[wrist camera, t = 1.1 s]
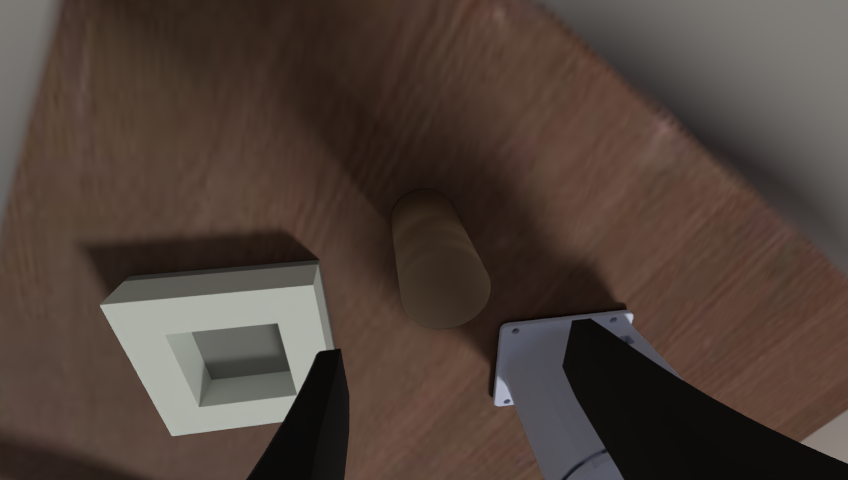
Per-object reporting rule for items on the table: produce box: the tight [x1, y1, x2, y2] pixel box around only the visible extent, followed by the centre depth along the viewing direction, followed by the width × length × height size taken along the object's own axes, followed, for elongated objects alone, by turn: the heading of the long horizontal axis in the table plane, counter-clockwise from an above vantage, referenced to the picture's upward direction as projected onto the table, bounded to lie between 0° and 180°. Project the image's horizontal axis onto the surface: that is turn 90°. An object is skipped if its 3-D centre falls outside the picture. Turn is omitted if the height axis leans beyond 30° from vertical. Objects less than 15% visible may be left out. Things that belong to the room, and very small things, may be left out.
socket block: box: [100, 260, 335, 436], centre depth 22 cm, size 10×10×2 cm
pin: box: [391, 189, 491, 329], centre depth 18 cm, size 4×4×7 cm
